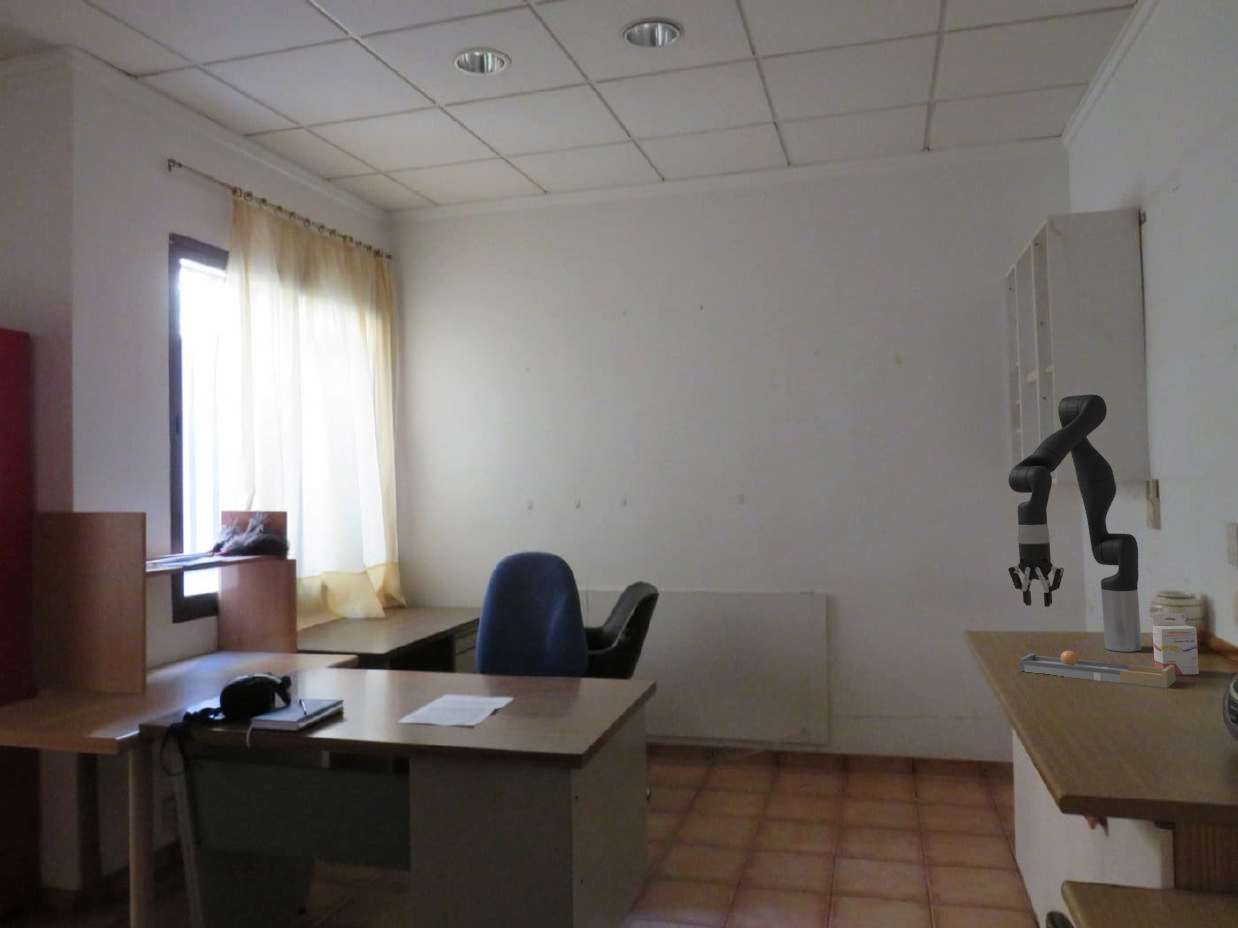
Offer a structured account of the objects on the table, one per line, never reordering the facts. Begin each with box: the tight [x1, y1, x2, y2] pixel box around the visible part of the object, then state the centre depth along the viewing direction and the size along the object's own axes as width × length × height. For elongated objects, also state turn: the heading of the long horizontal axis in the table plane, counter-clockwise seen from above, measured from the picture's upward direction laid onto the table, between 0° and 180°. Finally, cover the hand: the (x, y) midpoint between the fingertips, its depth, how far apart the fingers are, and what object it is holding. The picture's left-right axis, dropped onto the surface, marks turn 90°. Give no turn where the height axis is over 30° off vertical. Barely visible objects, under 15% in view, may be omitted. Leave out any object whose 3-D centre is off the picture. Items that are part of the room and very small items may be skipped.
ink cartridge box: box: [1152, 612, 1200, 676], centre depth 228 cm, size 9×5×15 cm, turn 84°
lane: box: [1019, 653, 1176, 689], centre depth 228 cm, size 8×34×4 cm, turn 45°
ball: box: [1060, 650, 1079, 665], centre depth 233 cm, size 4×4×4 cm
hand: (1037, 605), depth 238 cm, fingers open, 4 cm apart
